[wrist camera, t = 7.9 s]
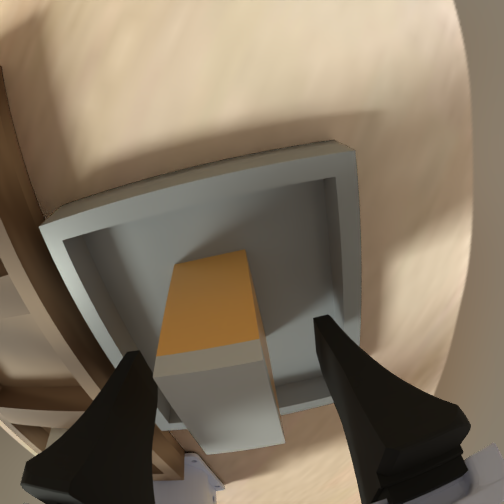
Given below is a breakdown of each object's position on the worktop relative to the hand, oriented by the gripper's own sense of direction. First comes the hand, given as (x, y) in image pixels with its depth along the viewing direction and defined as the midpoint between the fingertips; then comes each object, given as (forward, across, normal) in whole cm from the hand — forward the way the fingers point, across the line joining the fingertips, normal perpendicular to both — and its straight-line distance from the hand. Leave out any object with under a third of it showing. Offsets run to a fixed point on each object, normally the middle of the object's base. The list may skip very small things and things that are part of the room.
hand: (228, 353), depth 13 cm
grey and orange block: (+2, 0, -1) cm, 2 cm away
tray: (+3, 0, 0) cm, 3 cm away
